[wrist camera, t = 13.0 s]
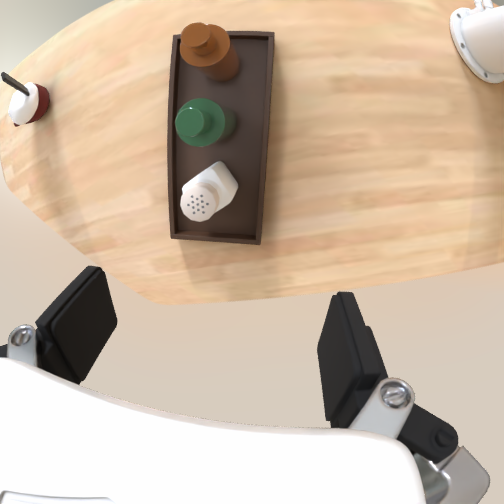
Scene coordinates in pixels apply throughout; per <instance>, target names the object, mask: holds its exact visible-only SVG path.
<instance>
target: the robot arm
mask: <svg viewBox="0 0 504 504" xmlns="http://www.w3.org/2000/svg"><path fill="white" fill-rule="evenodd" d="M474 3H475V6H476V7H475V9H472V10H471V9H468V8H460V9H457V10H456V11H454V12H453V13H452V15H451V18H450V31H451V34H452V38H453V41H454V43H455V46H456V48H457V50H458V52H459V54H460V55H461V57H462V59H463V60H464V62H465V63H466V64H467V66H468V67H469V68H470V69H471V70H472V71H473V73H474V74H476V75H477V76H478V77H479V78H481V79H482V80H484V81H486V82H488V83H500V82H502V81H503V80H504V6H500V7H497V8H494V7H493V3H492V1H490V0H482V2H481V0H474ZM482 3H483V7H484V9H483V7H482ZM35 323H36V325H37V327H38V328H37V329H36V330H35V329H34V327H33V326H31V325H27V324H26V325H21V326H19V327H17V328H15V329H14V330H13V331H12V332H11V334H10V335H9V338H8V344H6V345H3V346H0V504H478V503H479V502H480V500H481V499H482V498H483V496H484V495H485V493H486V492H487V490H488V488H489V485H490V476H489V474H488V473H487V471H486V470H485V469H484V468H483V467H482V466H481V465H480V463H479V462H478V461H477V460H476V459H475V458H474V457H473V456H472V455H471V454H470V453H469V451H468V450H466V448H465V447H464V446H462V447H459V446H458V435H457V432H456V430H455V429H454V428H453V427H452V426H451V425H450V424H448V423H446V422H444V421H443V420H441V419H440V418H438V417H436V416H435V415H433V414H431V413H429V412H428V411H426V410H425V409H423V408H421V407H419V406H418V405H416V404H415V403H414V401H415V393H414V391H413V389H412V387H411V386H410V385H409V384H408V383H407V382H405V381H404V380H401V379H399V378H388V375H387V372H386V369H385V366H384V363H383V360H382V357H381V354H380V352H379V349H378V346H377V343H376V341H375V338H374V335H373V332H372V330H371V328H370V327H369V326H365V323H364V321H363V317H362V315H361V312H360V310H359V307H358V304H357V302H356V299H355V297H354V294H353V293H352V292H338V293H337V295H333V296H332V298H331V302H330V305H329V309H328V312H327V316H326V319H325V323H324V326H323V329H322V333H321V336H320V339H319V342H318V347H317V353H318V359H319V367H320V375H321V383H322V390H323V399H324V408H325V417H326V421H330V423H331V428H304V427H302V428H301V427H277V426H262V425H250V424H239V423H231V422H222V421H215V420H209V419H203V418H196V417H191V416H185V415H180V414H176V413H171V412H166V411H162V410H157V409H154V408H150V407H146V406H142V405H138V404H135V403H131V402H127V401H124V400H121V399H117V398H115V397H111V396H108V395H105V394H102V393H99V392H97V391H94V390H91V389H88V388H85V387H83V386H80V385H79V384H80V382H81V381H84V380H85V378H86V376H87V375H88V373H89V371H90V369H91V367H92V366H93V364H94V362H95V361H96V359H97V357H98V356H99V354H100V352H101V350H102V349H103V347H104V346H105V344H106V342H107V341H108V339H109V338H110V336H111V334H112V332H113V331H114V329H115V328H116V326H117V317H116V313H115V310H114V306H113V303H112V299H111V295H110V291H109V287H108V283H107V279H106V275H105V272H104V271H103V270H102V269H101V268H100V267H95V266H88V267H86V268H85V269H84V270H83V271H82V272H81V273H80V274H79V275H78V276H77V277H76V278H75V280H73V281H72V282H71V283H70V285H68V286H67V288H66V289H65V290H64V291H63V292H62V293H61V294H60V295H59V296H58V297H57V298H56V299H55V300H54V301H53V302H52V304H51V305H50V306H49V307H48V308H47V309H46V310H45V311H44V312H43V314H42V315H41V316H40V317H39V318H38V320H37V321H36V322H35ZM424 494H425V495H424Z"/></svg>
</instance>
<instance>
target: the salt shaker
mask: <svg viewBox="0 0 504 504" xmlns="http://www.w3.org/2000/svg"><path fill="white" fill-rule="evenodd" d="M237 189H238V183H237V181H236V180H235V179H234V177H233V176H232V174H231V173H230V171H229V170H228V168H227V167H226V165H225V164H224V163H223V162H221V161H218V162H216V163H214V164H213V165H211V166H210V167H208V168H207V169H205V170H204V171H203V172H201V173H200V174H198V175H197V176H195V177H194V178H193V179H191V180H190V181H189V182H188V183H186V184H185V185H184V186H183V188H182V191H183V195H182V196H181V204H180V206H181V208H182V211H183V213H184V215H186V216H187V217H188V218H189V219H190V220H193V221H198V222H201V221H205V220H208V219H209V218H210V217H211V216H212V215H213V214H214V213H215V212H217V211H219V210H220V209H222V208H223V207H225V206H226V205H228V204H229V203H230V202H231V201H232V199H233V197H234V195H235V193H236V191H237Z"/></svg>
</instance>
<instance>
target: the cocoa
mask: <svg viewBox="0 0 504 504" xmlns="http://www.w3.org/2000/svg"><path fill="white" fill-rule="evenodd" d="M1 76H2V80H3V81H4V82H6V83H7V84H9V85H10V86H12V87H14V88H15V89H17V90H18V91H17V92H16V93H14V94H13V97H12V100H11V103H10V107H9V115H10V117H11V119H12V121H13V122H14V125H15V126H16V127H17V126H20V125H24V124H28V123H32V122H34V121H37V120H39V119H40V118H41V117H42V116H43V115H44V114H45V112H46V110H47V108H48V105H49V93H48V91H47V89H46V88H45V87H43V86H40V85H38V84H34V83H30V82H28V83H27V84H26V85H25V86H24V85H22V84H21V83H19V82H18V81H16V80H15V79H13V78H12V77H11V76H9V75H8V74H6V73H5V72H2V73H1Z"/></svg>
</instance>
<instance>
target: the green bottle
mask: <svg viewBox="0 0 504 504" xmlns="http://www.w3.org/2000/svg"><path fill="white" fill-rule="evenodd" d="M175 126H176V130H177V133H178V135H179V137H180V138H181V139H182V140H183V141H184V142H185V143H187V144H189V145H191V146H195V147H203V146H207V145H210V144H213V143H216V142H219V141H222V140H224V139H227V138H229V137H230V136H231V135H232V134H233V133H234V132H235V130H236V128H237V117H236V115H235V113H234V112H233V110H231V109H230V108H229V107H227V106H224V105H222V104H220V103H217V102H215V101H212V100H210V99H206V98H197V99H193V100H191V101H189V102H187V103H186V104H184V105H183V106H182V107H181V109H180V110H179V112H178V114H177V117H176V120H175Z"/></svg>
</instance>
